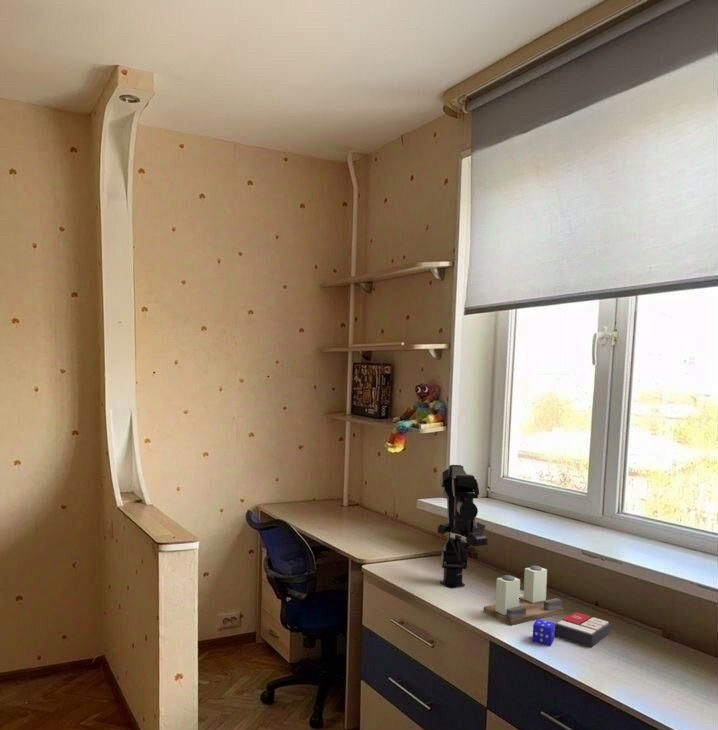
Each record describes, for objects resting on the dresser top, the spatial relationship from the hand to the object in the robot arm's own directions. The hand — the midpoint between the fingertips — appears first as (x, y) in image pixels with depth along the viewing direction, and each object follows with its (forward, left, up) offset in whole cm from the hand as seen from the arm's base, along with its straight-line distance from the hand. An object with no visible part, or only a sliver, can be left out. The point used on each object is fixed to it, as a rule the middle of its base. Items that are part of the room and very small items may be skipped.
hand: (460, 560), depth 208 cm
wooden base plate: (+17, +12, -13) cm, 24 cm away
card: (+6, +23, -13) cm, 27 cm away
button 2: (+14, +20, -11) cm, 27 cm away
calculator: (+37, +15, -14) cm, 42 cm away
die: (+35, +1, -13) cm, 37 cm away
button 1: (+18, +4, -11) cm, 21 cm away
